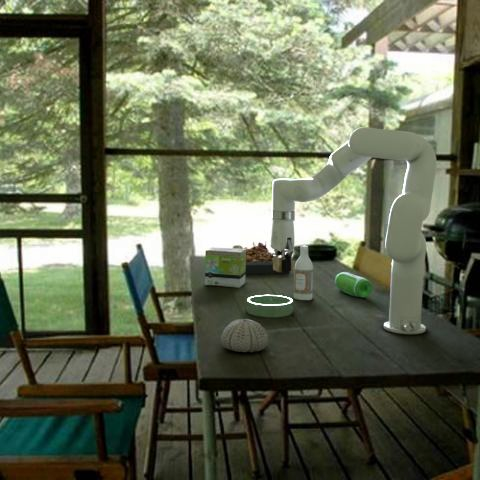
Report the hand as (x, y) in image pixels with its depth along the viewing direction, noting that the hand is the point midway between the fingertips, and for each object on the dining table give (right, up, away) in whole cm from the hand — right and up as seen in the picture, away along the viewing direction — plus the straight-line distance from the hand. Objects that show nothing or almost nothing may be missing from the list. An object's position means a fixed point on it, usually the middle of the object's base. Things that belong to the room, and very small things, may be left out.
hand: (282, 269), depth 209 cm
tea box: (-20, -9, +49) cm, 53 cm away
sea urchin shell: (-13, -20, -38) cm, 45 cm away
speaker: (+29, -11, +33) cm, 45 cm away
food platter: (-8, -3, +95) cm, 95 cm away
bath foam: (+9, -12, +23) cm, 28 cm away
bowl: (-4, -15, +2) cm, 16 cm away
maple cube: (0, 0, 0) cm, 0 cm away
